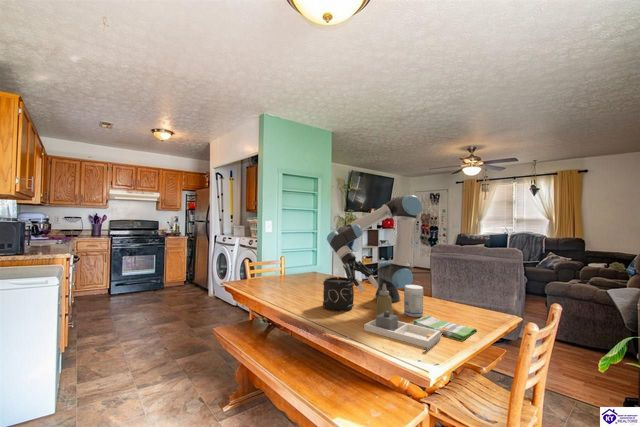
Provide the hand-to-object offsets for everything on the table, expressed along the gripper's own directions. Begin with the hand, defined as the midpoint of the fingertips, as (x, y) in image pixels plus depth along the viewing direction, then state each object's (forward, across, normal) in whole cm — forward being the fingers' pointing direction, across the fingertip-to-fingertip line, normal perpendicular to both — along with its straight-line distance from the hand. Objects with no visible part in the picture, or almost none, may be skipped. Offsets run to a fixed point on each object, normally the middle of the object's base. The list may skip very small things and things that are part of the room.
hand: (370, 288), depth 151 cm
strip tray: (+26, +12, +6) cm, 29 cm away
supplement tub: (+20, -20, 0) cm, 29 cm away
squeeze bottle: (+16, -1, -5) cm, 17 cm away
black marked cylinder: (-5, -4, -27) cm, 27 cm away
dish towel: (+34, -10, +13) cm, 38 cm away
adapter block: (+21, +12, +2) cm, 24 cm away
